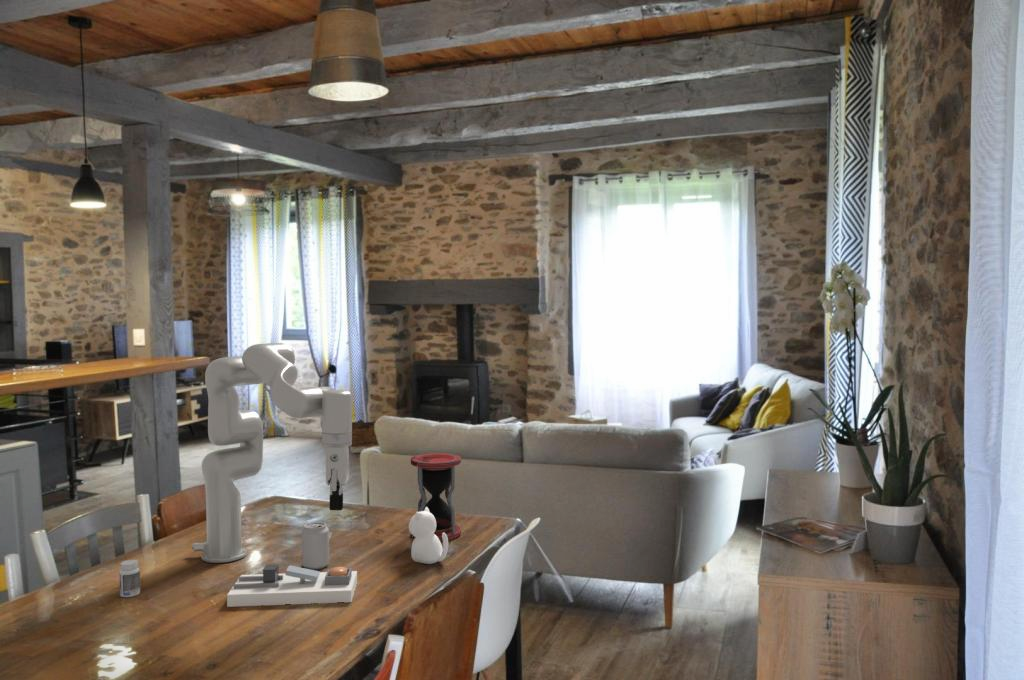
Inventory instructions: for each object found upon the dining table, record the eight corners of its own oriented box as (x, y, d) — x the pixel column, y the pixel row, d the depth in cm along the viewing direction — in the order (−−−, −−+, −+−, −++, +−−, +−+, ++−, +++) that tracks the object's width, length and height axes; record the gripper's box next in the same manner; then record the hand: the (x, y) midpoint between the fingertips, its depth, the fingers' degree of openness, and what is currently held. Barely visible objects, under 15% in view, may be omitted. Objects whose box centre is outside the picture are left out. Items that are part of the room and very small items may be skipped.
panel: (227, 606, 188) (226, 586, 188) (241, 586, 202) (241, 566, 202) (351, 602, 191) (351, 581, 191) (357, 582, 205) (356, 562, 205)
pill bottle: (144, 592, 198) (143, 560, 198) (130, 598, 194) (129, 565, 193) (130, 589, 200) (129, 558, 199) (115, 596, 195) (114, 563, 195)
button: (328, 582, 195) (328, 573, 195) (331, 576, 200) (330, 567, 200) (346, 581, 196) (346, 572, 196) (348, 575, 200) (348, 566, 200)
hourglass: (434, 524, 259) (433, 451, 258) (471, 532, 250) (471, 456, 249) (400, 536, 246) (399, 458, 245) (438, 545, 237) (438, 464, 236)
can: (322, 571, 214) (321, 528, 213) (297, 569, 215) (296, 527, 215) (333, 562, 221) (333, 521, 220) (309, 560, 222) (309, 519, 222)
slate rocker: (285, 575, 194) (286, 570, 194) (288, 569, 198) (289, 565, 198) (316, 581, 195) (317, 577, 195) (318, 576, 199) (319, 571, 199)
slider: (263, 585, 194) (263, 569, 194) (266, 579, 198) (266, 564, 198) (275, 585, 194) (275, 569, 194) (278, 579, 198) (278, 564, 198)
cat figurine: (417, 554, 229) (416, 504, 228) (455, 558, 224) (454, 507, 223) (402, 563, 220) (401, 512, 220) (442, 568, 216) (441, 515, 215)
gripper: (348, 444, 189) (347, 517, 190) (354, 433, 204) (354, 501, 205) (317, 444, 188) (316, 518, 190) (326, 433, 203) (325, 501, 204)
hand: (336, 509), depth 197 cm, fingers closed
